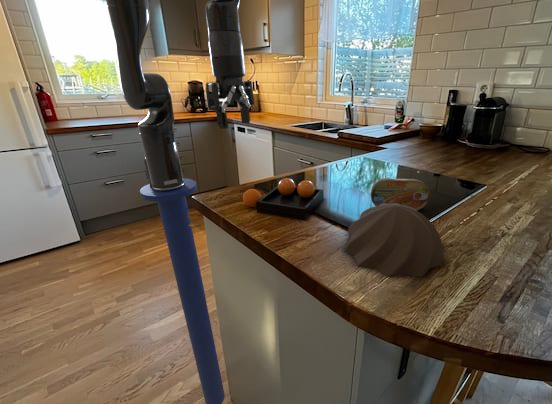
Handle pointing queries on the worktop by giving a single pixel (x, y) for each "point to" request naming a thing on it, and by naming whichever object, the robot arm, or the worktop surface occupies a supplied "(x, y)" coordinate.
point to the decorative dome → (395, 241)
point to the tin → (400, 192)
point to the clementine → (251, 197)
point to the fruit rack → (291, 200)
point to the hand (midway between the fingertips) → (235, 125)
